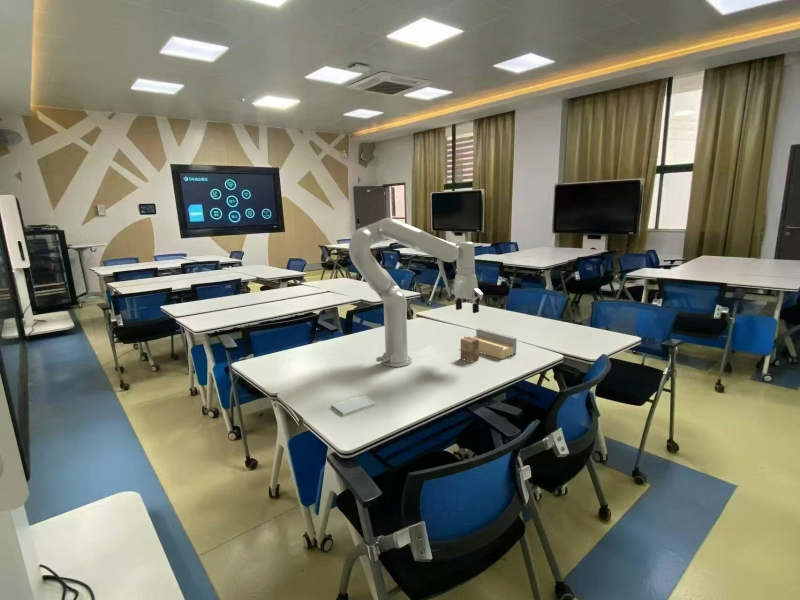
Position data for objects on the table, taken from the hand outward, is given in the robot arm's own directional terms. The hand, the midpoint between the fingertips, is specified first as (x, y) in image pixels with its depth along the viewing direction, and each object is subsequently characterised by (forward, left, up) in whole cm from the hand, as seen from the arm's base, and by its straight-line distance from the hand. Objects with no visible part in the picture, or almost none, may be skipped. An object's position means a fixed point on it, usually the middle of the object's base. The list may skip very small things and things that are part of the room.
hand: (467, 310), depth 174 cm
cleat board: (+14, 0, -21) cm, 26 cm away
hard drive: (-62, -9, -22) cm, 67 cm away
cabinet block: (0, -2, -21) cm, 21 cm away
